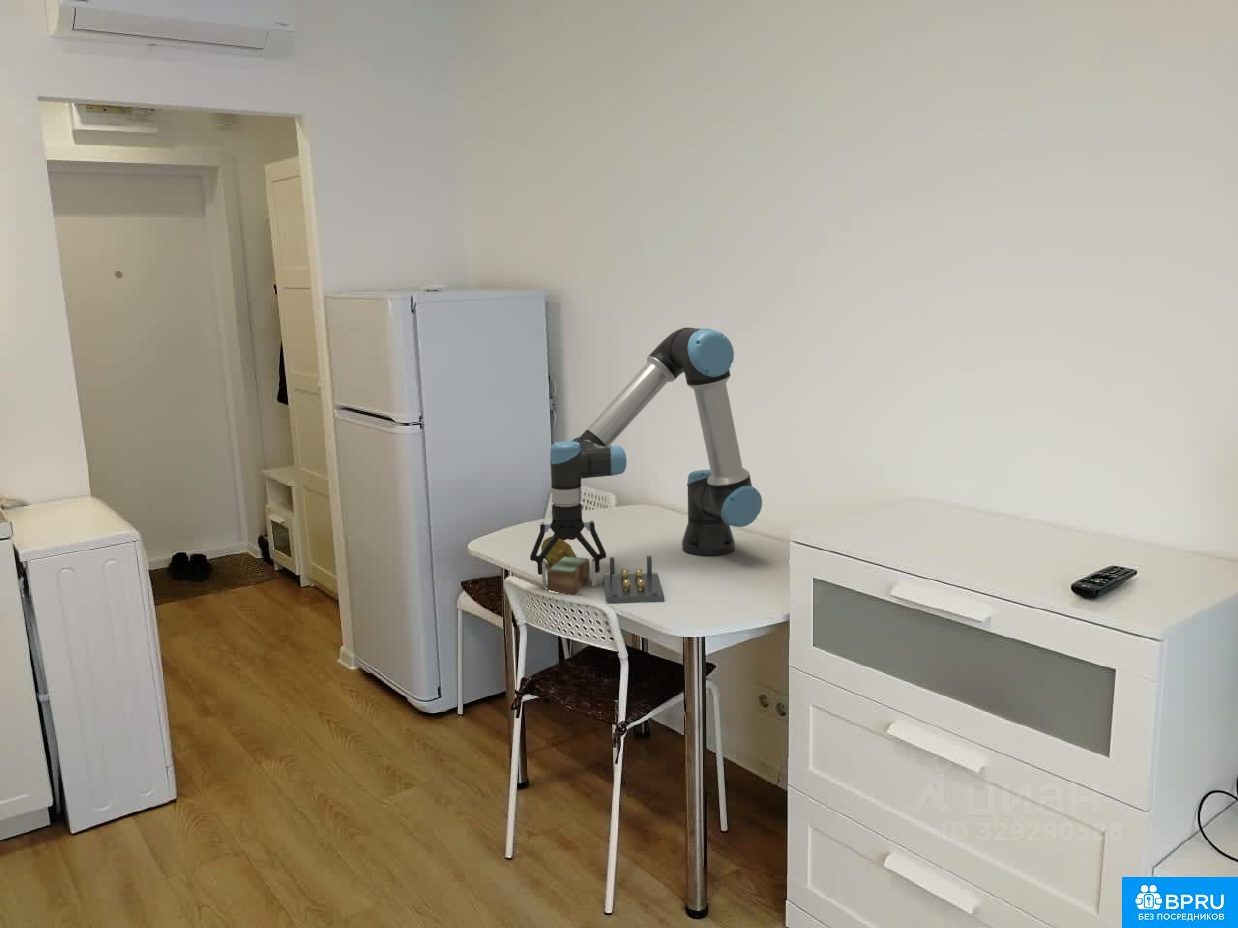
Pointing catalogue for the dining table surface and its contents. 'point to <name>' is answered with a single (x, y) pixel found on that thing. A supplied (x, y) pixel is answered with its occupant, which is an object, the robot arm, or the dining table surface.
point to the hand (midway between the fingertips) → (569, 585)
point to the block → (568, 575)
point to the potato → (557, 551)
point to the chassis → (632, 585)
